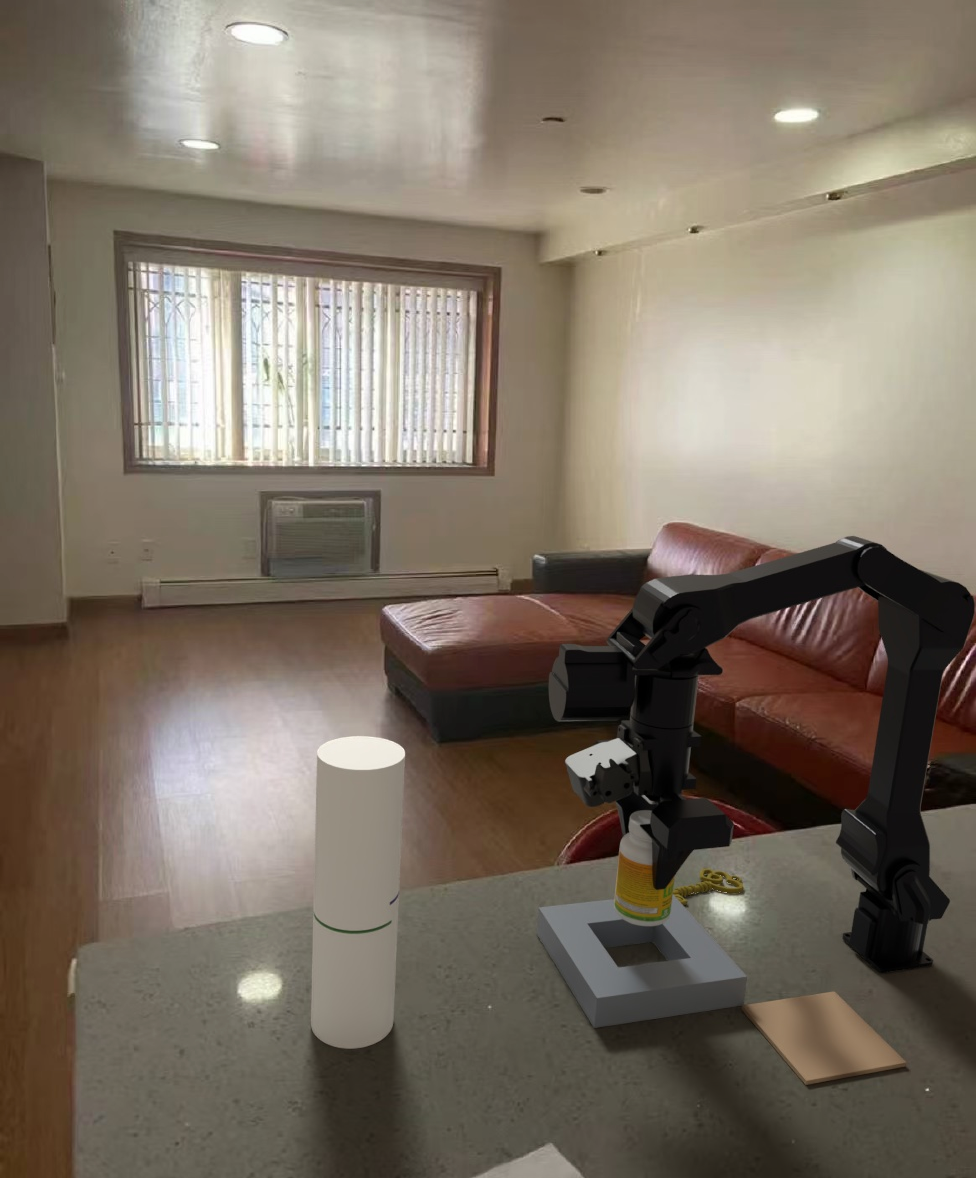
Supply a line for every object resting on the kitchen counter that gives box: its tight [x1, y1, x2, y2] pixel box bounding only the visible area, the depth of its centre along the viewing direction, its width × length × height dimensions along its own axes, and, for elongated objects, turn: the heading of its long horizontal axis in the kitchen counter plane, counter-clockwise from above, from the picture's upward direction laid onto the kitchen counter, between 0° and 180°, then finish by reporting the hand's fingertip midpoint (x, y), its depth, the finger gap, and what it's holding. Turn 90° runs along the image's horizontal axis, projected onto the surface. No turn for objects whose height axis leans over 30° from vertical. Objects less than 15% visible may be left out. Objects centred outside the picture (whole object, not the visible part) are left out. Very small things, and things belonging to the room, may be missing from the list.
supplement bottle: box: [613, 810, 676, 926], centre depth 93 cm, size 5×5×10 cm
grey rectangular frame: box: [536, 895, 748, 1029], centre depth 96 cm, size 15×15×3 cm
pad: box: [741, 991, 907, 1086], centre depth 87 cm, size 10×10×1 cm
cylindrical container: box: [310, 735, 406, 1050], centre depth 83 cm, size 7×7×25 cm
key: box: [673, 867, 745, 906], centre depth 112 cm, size 12×1×5 cm
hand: (645, 873), depth 93 cm, fingers closed on supplement bottle, 5 cm apart
